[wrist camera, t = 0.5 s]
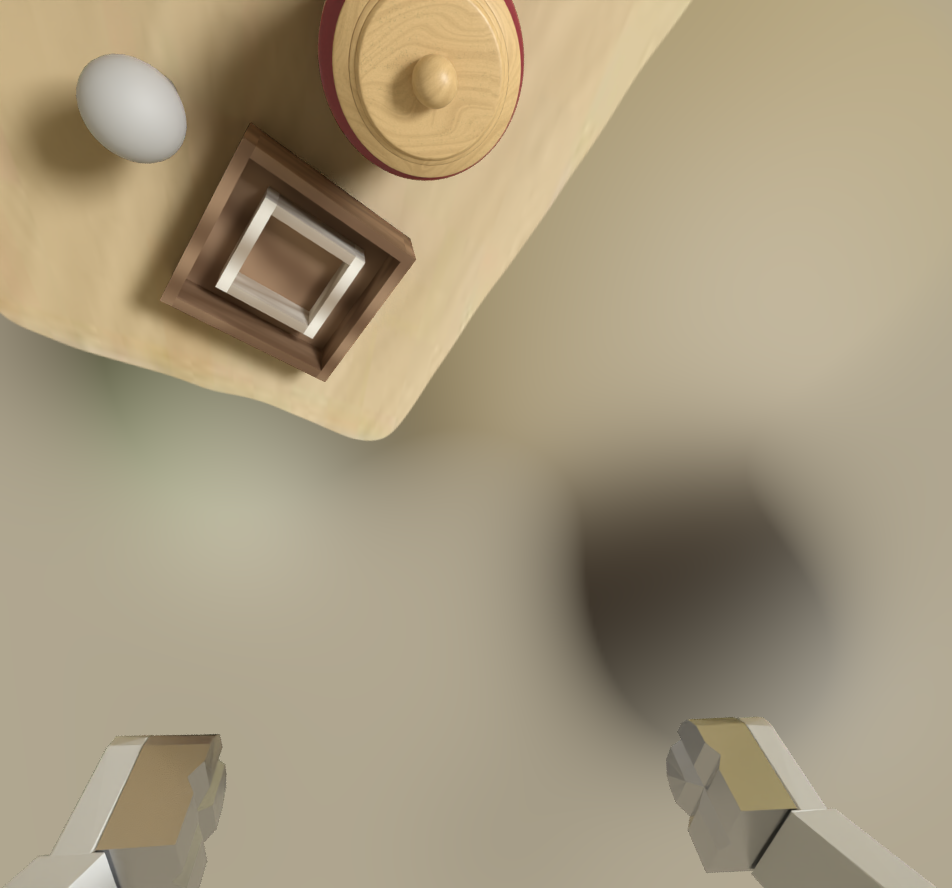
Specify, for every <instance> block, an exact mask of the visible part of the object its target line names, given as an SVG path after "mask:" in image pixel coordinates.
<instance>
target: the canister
mask: <svg viewBox="0 0 952 888" xmlns="http://www.w3.org/2000/svg"><path fill="white" fill-rule="evenodd" d="M318 63H319V71H320V77H321V82H322V86H323V90H324V93H325V97H326V100H327V102H328V105H329V107H330V110H331V112H332V114H333V116H334V118H335V120H336V122H337V124H338V125H339V127H340V129H341V130H342V132H343V133H344V135H345V136H346V137H347V139H348V140H349V141H350V142H351V144H352V145H353V146H354V147H355V148H356V149H357V150H358V151H359V152H360V153H361V154H362V155H363V156H364V157H365V158H367V159H368V160H369V161H370V162H372V163H373V164H375V165H376V166H378V167H380V168H381V169H383V170H385V171H387V172H389V173H391V174H394V175H396V176H399V177H403V178H407V179H412V180H422V181H430V180H440V179H444V178H448V177H451V176H454V175H457V174H459V173H462V172H464V171H466V170H467V169H469V168H471V167H472V166H474V165H475V164H477V163H478V162H479V161H481V160H482V159H483V158H484V157H485V156H486V155H487V154H488V153H489V152H490V151H491V150H492V149H493V148H494V147H495V146H496V144H497V143H498V142H499V140H500V139H501V137H502V136H503V134H504V133H505V131H506V129H507V128H508V126H509V124H510V122H511V120H512V117H513V115H514V112H515V110H516V107H517V104H518V100H519V97H520V93H521V87H522V81H523V73H524V47H523V38H522V32H521V27H520V23H519V19H518V15H517V12H516V9H515V6H514V4H513V1H512V0H325V2H324V6H323V10H322V15H321V20H320V25H319V34H318Z"/></svg>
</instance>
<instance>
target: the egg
mask: <svg viewBox="0 0 952 888" xmlns="http://www.w3.org/2000/svg"><path fill="white" fill-rule="evenodd" d="M76 98H77V104H78V108H79V111H80V114H81V117H82V119H83V121H84V123H85V125H86V126H87V128H88V129H89V131H90V132H91V133H92V135H93V136H94V137H95V138H96V139H97V140H98V141H99V142H100V143H101V144H102V145H103V146H104V147H105V148H107V149H108V150H109V151H111V152H112V153H114V154H116V155H118V156H120V157H122V158H124V159H127V160H130V161H133V162H138V163H156V162H161V161H164V160H166V159H168V158H170V157H171V156H173V155H174V154H175V153H176V152H177V151H178V149H179V148H180V147H181V145H182V144H183V141H184V139H185V136H186V128H187V124H186V114H185V110H184V107H183V104H182V101H181V99H180V97H179V95H178V93H177V90H176V88H175V86H174V84H173V83H172V82H171V81H170V80H169V79H168V78H167V77H166V76H164V75H163V74H161V73H160V72H159V71H158V70H157V69H156V68H154V67H152V66H151V65H149V64H148V63H146V62H144V61H142V60H139V59H137V58H135V57H132V56H128V55H124V54H108V55H103V56H100V57H98V58H96V59H94V60H92V61H91V62H89V63H88V64H87V65H86V66H85V67H84V69H83V71H82V72H81V74H80V76H79V79H78V83H77V87H76Z"/></svg>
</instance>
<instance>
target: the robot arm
mask: <svg viewBox="0 0 952 888" xmlns="http://www.w3.org/2000/svg"><path fill="white" fill-rule="evenodd" d="M678 734H679V736H680V738H681V740H680V741H678V742H677V743H676V744H674V745H673V746H672V747H671V748H670V750H669V754H668V756H667V759H666V766H667V777H668V781H669V786H670V789H671V791H672V794H673V796H674V799H675V801H676V803H677V804H678V805H679V806H680V807H681V808H682V809H683V810H684V811H685V812H686V813H687V814H688V815H689V816H690V819H689V826H688V832H689V834H690V836H691V839H692V841H693V844H694V846H695V848H696V851H697V852H698V855H699V857H700V860H701V862H702V864H703V866H704V869H705V871H706V872H707V873H711V872H712V873H713V872H734V871H753V872H752V875H753V876H754V877H755V878H756V880H757V881H758V882H759V883H760V884H761V885H762V886H763V887H764V888H936V887H935V886H934V885H933V884H931V883H930V882H929V881H928V880H926V879H925V878H924V877H922V876H921V875H920V874H919V873H917V872H916V871H915V870H913V869H912V868H911V867H910V866H908V865H907V864H906V863H904V862H903V861H902V860H900V859H899V858H898V857H897V856H895V855H894V854H893V853H891V852H890V851H889V850H888V849H886V848H885V847H884V846H882V845H881V844H880V843H879V842H877V841H876V840H875V839H874V838H872V837H871V836H870V835H868V834H867V833H866V832H865V831H863V830H862V829H861V828H859V827H858V826H857V825H856V824H854V823H853V822H852V821H850V820H849V819H848V818H846V817H845V816H844V815H843V814H841V813H840V812H838V811H837V810H836V809H835V808H826V806H825V805H824V804H823V802H822V800H821V799H820V797H819V796H818V794H817V793H816V791H815V790H814V788H813V787H812V785H811V784H810V782H809V781H808V779H807V778H806V776H805V775H804V773H803V772H802V770H801V769H800V767H799V766H798V764H797V763H796V761H795V760H794V758H793V757H792V755H791V754H790V752H789V751H788V749H787V748H786V746H785V745H784V743H783V742H782V740H781V739H780V737H779V736H778V734H777V733H776V731H775V730H774V728H773V727H772V725H771V724H770V723H769V722H768V721H767V720H765V719H764V718H762V717H743V718H734V717H725V718H706V719H688V720H685V721H684V722H682V723H681V725H680V727H679V729H678ZM221 750H222V743H221V738H220V734H207V735H206V734H205V735H160V736H159V735H156V736H154V735H142V736H140V735H139V736H116V738H115V739H114V740H113V741H112V742H111V743H110V744H109V745H108V747H107V748H106V749H105V751H104V753H103V755H102V757H101V759H100V761H99V763H98V765H97V766H96V768H95V770H94V772H93V774H92V776H91V778H90V780H89V782H88V784H87V785H86V787H85V789H84V791H83V793H82V795H81V797H80V799H79V801H78V802H77V804H76V806H75V808H74V810H73V812H72V814H71V816H70V818H69V820H68V822H67V823H66V825H65V827H64V829H63V831H62V833H61V835H60V837H59V839H58V841H57V842H56V844H55V846H54V848H53V850H52V852H51V854H50V855H42V856H38V857H36V858H35V859H34V860H33V861H32V862H31V863H30V864H29V865H27V866H26V867H25V868H24V869H23V870H22V871H21V872H20V873H18V874H17V875H16V876H15V877H14V878H13V879H12V880H10V881H9V882H8V883H7V884H6V885H5V886H4V887H3V888H199V887H200V884H201V880H202V877H203V874H204V870H205V867H206V863H207V857H206V852H205V846H204V842H205V841H206V840H207V839H208V838H209V836H210V835H211V834H212V833H213V832H214V831H215V830H216V829H217V826H218V822H219V818H220V815H221V811H222V806H223V801H224V796H225V790H226V769H225V764H224V763H223V762H221V761H220V760H219V756H220V753H221Z"/></svg>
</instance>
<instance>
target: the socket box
mask: <svg viewBox="0 0 952 888" xmlns="http://www.w3.org/2000/svg"><path fill="white" fill-rule="evenodd" d="M415 260H416V258H415V254H414V251H413V247H412V243H411V240H410V238H408V237H407V236H406V235H404V234H403V233H402V232H400V231H399V230H397V229H396V228H395V227H393V226H392V225H391V224H389V223H388V222H386V221H385V220H384V219H382V218H381V217H380V216H378V215H377V214H375V213H374V212H373V211H371V210H370V209H369V208H367V207H366V206H364V205H363V204H362V203H360V202H359V201H358V200H356V199H355V198H353V197H352V196H351V195H349V194H348V193H347V192H345V191H344V190H342V189H341V188H340V187H338V186H337V185H336V184H334V183H333V182H331V181H330V180H329V179H327V178H326V177H325V176H323V175H322V174H320V173H319V172H318V171H316V170H315V169H314V168H312V167H311V166H309V165H308V164H307V163H305V162H304V161H303V160H301V159H300V158H299V157H297V156H296V155H294V154H293V153H292V152H290V151H289V150H288V149H286V148H285V147H283V146H282V145H281V144H279V143H278V142H277V141H275V140H274V139H272V138H271V137H270V136H268V135H267V134H266V133H264V132H263V131H261V130H260V129H259V128H257V127H256V126H255V125H253V124H252V123H250V124H249V126H248V128H247V130H246V132H245V134H244V136H243V138H242V140H241V142H240V144H239V146H238V147H237V149H236V151H235V153H234V155H233V157H232V159H231V161H230V163H229V165H228V167H227V169H226V171H225V173H224V175H223V177H222V179H221V181H220V183H219V185H218V187H217V189H216V191H215V193H214V195H213V197H212V198H211V200H210V202H209V204H208V206H207V208H206V210H205V212H204V214H203V216H202V218H201V220H200V222H199V224H198V226H197V228H196V230H195V232H194V234H193V236H192V238H191V240H190V242H189V244H188V246H187V248H186V249H185V251H184V253H183V255H182V257H181V259H180V261H179V263H178V265H177V267H176V269H175V271H174V273H173V275H172V277H171V279H170V281H169V283H168V285H167V287H166V289H165V291H164V293H163V295H162V297H161V299H160V301H162V302H164V303H166V304H168V305H170V306H172V307H174V308H176V309H178V310H180V311H182V312H184V313H186V314H188V315H190V316H192V317H194V318H196V319H198V320H200V321H202V322H204V323H206V324H208V325H210V326H212V327H214V328H216V329H218V330H220V331H222V332H225V333H227V334H229V335H231V336H233V337H235V338H237V339H239V340H241V341H243V342H245V343H247V344H249V345H251V346H253V347H255V348H257V349H259V350H261V351H263V352H265V353H267V354H269V355H271V356H273V357H275V358H277V359H279V360H281V361H283V362H285V363H287V364H289V365H291V366H293V367H295V368H297V369H299V370H301V371H303V372H305V373H307V374H309V375H312V376H314V377H316V378H318V379H320V380H322V381H324V382H325V381H326V380H327V379H328V377H329V376H330V375H331V373H332V372H333V371H334V369H335V368H336V367H337V365H338V364H339V363H340V361H341V360H342V359H343V357H344V356H345V354H346V353H347V352H348V350H349V349H350V348H351V346H352V345H353V344H354V342H355V341H356V340H357V338H358V337H359V336H360V334H361V333H362V332H363V330H364V329H365V328H366V326H367V325H368V324H369V322H370V321H371V319H372V318H373V317H374V315H375V314H376V313H377V311H378V310H379V309H380V307H381V306H382V305H383V303H384V302H385V301H386V299H387V298H388V297H389V295H390V294H391V293H392V291H393V290H394V288H395V287H396V286H397V284H398V283H399V282H400V280H401V279H402V278H403V276H404V275H405V274H406V272H407V271H408V270H409V268H410V267H411V266H412V264H413V263H414V262H415Z"/></svg>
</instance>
